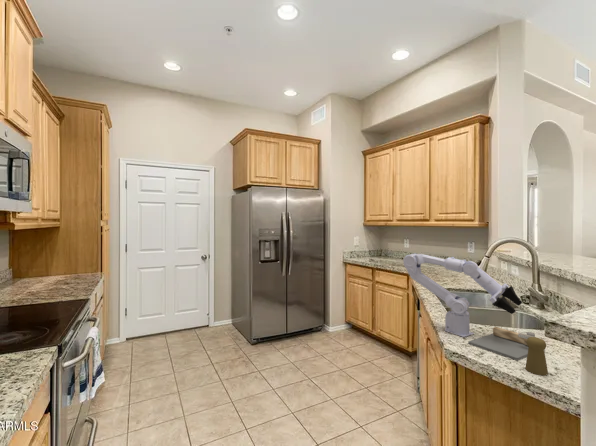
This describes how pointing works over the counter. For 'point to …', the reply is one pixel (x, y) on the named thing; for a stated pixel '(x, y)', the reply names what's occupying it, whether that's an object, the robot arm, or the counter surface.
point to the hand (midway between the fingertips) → (517, 308)
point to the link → (509, 335)
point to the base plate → (502, 346)
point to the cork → (536, 356)
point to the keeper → (524, 335)
